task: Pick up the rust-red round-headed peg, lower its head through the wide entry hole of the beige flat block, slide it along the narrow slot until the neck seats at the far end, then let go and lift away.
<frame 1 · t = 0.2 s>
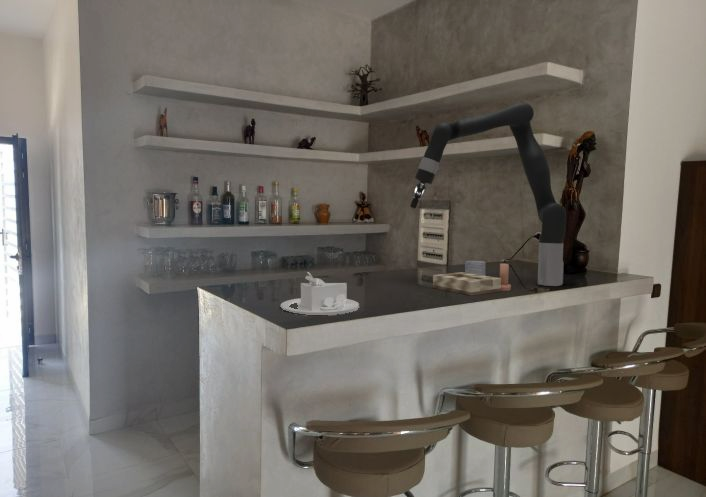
hand: (412, 207, 212), 31 cm above the table, tool tilted 20°, fingers open, 8 cm apart
medicine box: (474, 282, 217), on the table
beige flat block: (466, 289, 197), on the table
dish: (319, 308, 163), on the table
peg: (503, 289, 197), on the table
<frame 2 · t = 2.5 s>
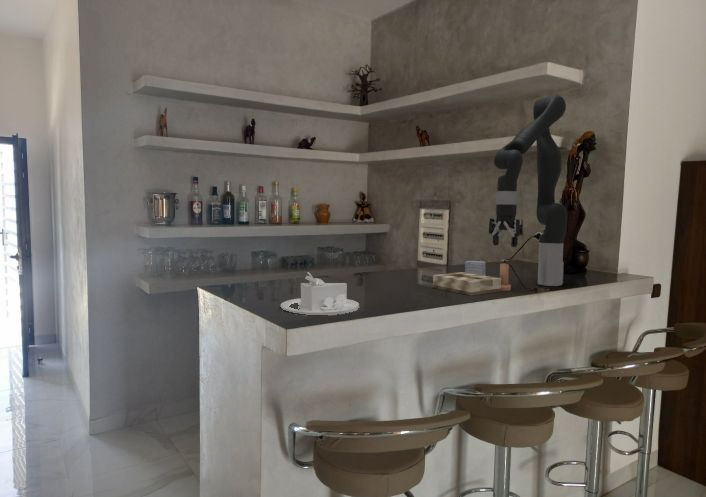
hand: (504, 246, 196), 17 cm above the table, tool pointing down, fingers open, 8 cm apart
nothing on the table moved.
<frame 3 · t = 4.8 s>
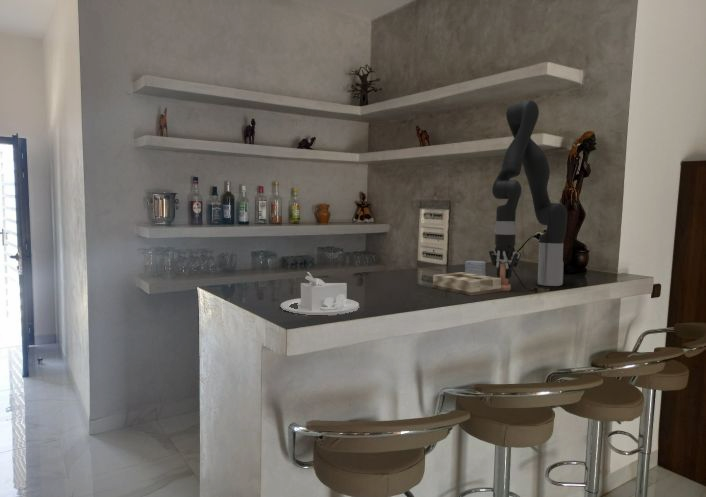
hand: (503, 277, 197), 5 cm above the table, tool pointing down, fingers closed on peg, 3 cm apart
peg: (503, 289, 197), on the table, touching gripper
everything else where it was.
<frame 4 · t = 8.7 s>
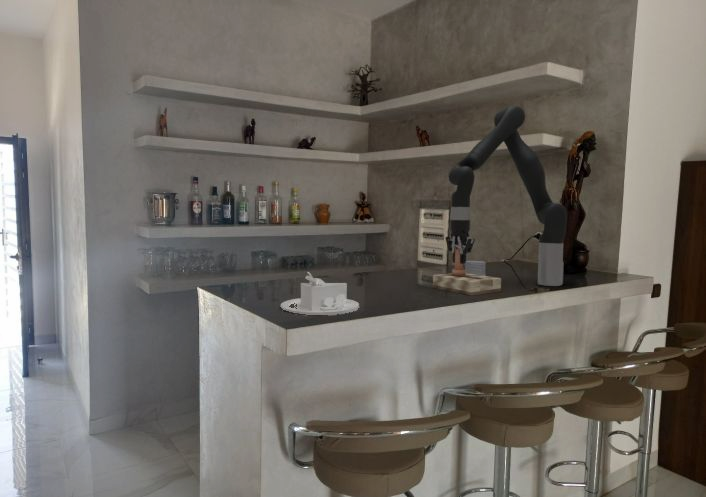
hand: (459, 262, 199), 10 cm above the table, tool pointing down, fingers closed on peg, 3 cm apart
peg: (458, 274, 200), point 5 cm above the table, touching gripper
everything else where it was.
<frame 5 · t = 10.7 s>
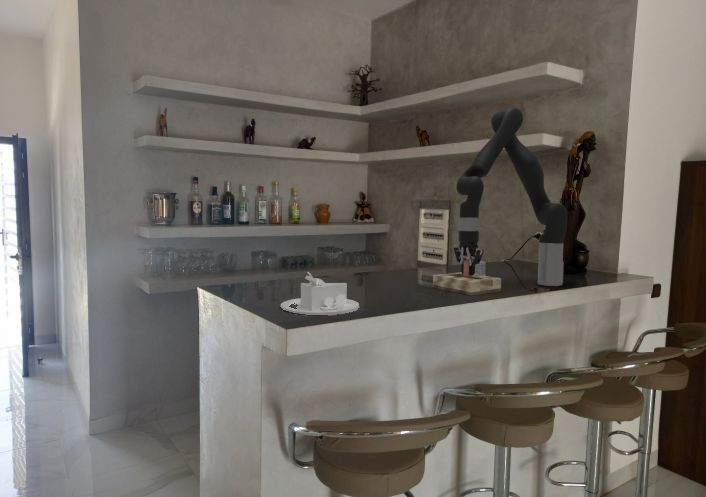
hand: (467, 274, 196), 6 cm above the table, tool pointing down, fingers closed on peg, 3 cm apart
peg: (467, 286, 196), point 1 cm above the table, touching gripper
everything else where it was.
when the fingers open (6 cm above the table, at t = 12.7 s): peg stays where it is, resting on beige flat block.
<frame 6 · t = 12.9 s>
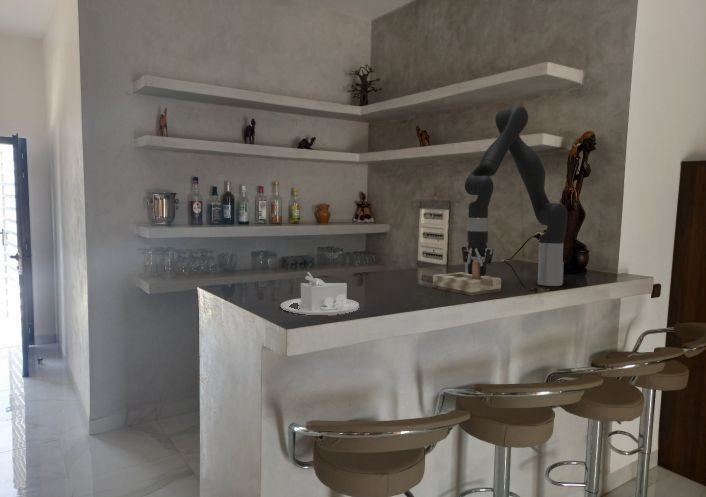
hand: (476, 274, 192), 6 cm above the table, tool pointing down, fingers open, 5 cm apart
peg: (476, 288, 193), point 1 cm above the table, touching beige flat block
everything else where it was.
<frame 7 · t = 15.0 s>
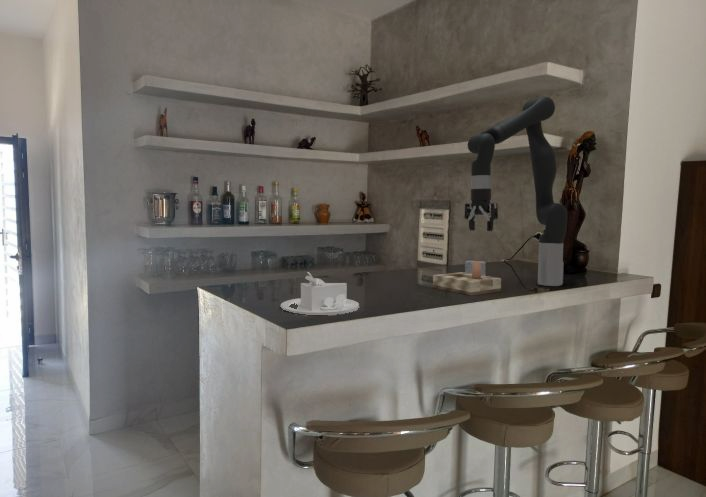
hand: (480, 230, 195), 23 cm above the table, tool pointing down, fingers open, 8 cm apart
nothing on the table moved.
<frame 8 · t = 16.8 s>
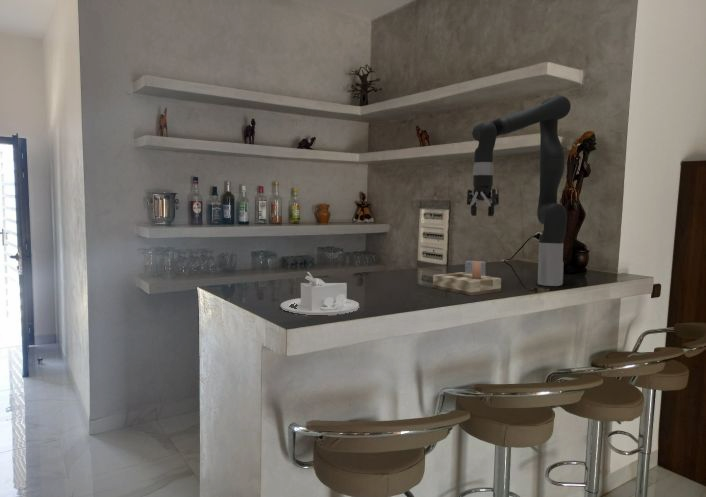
hand: (482, 216, 202), 28 cm above the table, tool pointing down, fingers open, 8 cm apart
nothing on the table moved.
at the end: peg 0.2 cm from the target spot on the beige flat block, point 1.2 cm above the beige flat block's base; peg tilted 0°; the gripper is holding nothing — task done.
